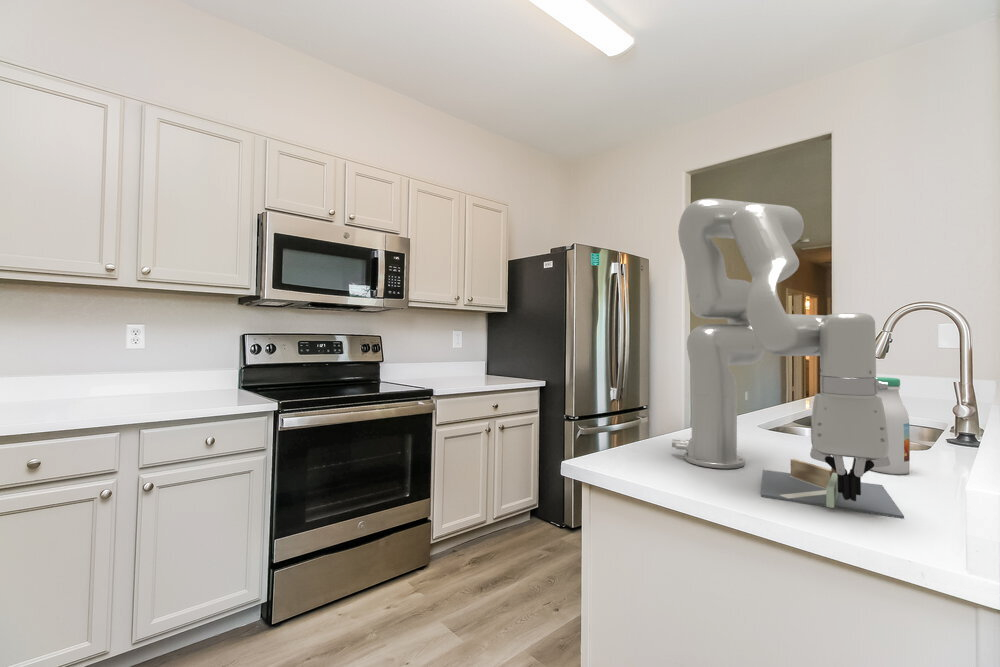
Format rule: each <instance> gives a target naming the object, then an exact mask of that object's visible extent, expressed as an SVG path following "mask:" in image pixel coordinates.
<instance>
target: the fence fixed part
mask: <svg viewBox="0 0 1000 667" xmlns="http://www.w3.org/2000/svg"><path fill="white" fill-rule="evenodd" d="M790 473H791V475H792V476H795V477H798V478H801V479H804V480H807V481H810V482H813V483H816V484H818V485H821V486H824V487H827V485H828V483H829V480H830V478H831V476H832V473H837V472H836V471H835V470H834V469H833V468H832V467H831V469H829V468H826V467H823V466H819V465H816V464H812V463H810V462H809V463H808V462H806V461H803V460H799V459H795V458H791V459H790Z"/></svg>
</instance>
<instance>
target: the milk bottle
mask: <svg viewBox="0 0 1000 667" xmlns="http://www.w3.org/2000/svg"><path fill="white" fill-rule="evenodd" d="M875 378H877V380H879V381H882V382H887V383H888V390H882V391H879V392H877V394H876V396H878V397H881V399H882V402H883V406H884V411H885V416H886V424H887V433H888V445H889V450H888V458H889V461H890V465H889V466H886V467H873V468H872V469H870V470H869V471H874V472H876V473H882V474H889V475H907V474H909V472H910V465H911V464H910V459H911V458H910V451H911V450H910V445H911V444H910V441H911V440H910V439H911V438H910V436H911V435H910V418H909V414H908V413H909V412H908V410H907V408H906V406H905V404H904V402H903V401H902V399H901V396H900V392H899V391H900V389H901V387H900V386H901V380H900V378H897V377H896V378H895V377H886V376H884V377H881V376H876V377H875Z"/></svg>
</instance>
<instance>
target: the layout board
mask: <svg viewBox="0 0 1000 667" xmlns="http://www.w3.org/2000/svg"><path fill="white" fill-rule="evenodd" d="M761 481H762V482H761V492H760V496H761V497H762V498H767V499H774V500H780V501H788V502H794V503H800V504H801V503H802V504H808V505H813V506H819V507H820V506H821V507H826V487H824V486H821V485H818V484H816V483H813V482H810V481H807V480H804V479H801V478H798V477H795V476H792V475H791V472H782V471H776V470H769V469H763V470H762V480H761ZM839 508H840V509H839ZM833 509H839V510H847V511H853V512H858V513H866V514H871V513H873V514H872V515H878V514H880V515H879V516H884V515H888V516H887V517H891V516H894V517H893V518H897V517H899V518H900V519H905V515H904V514H903V512H902V511H901V510H900V508H899V506H898V505H897V504H896V502H895V501H894V500H893V498H892V497H891V496H890V494H889V492H888V491H887V490H886V489H885V487H884V486H883V484H877V483H869V482H862V481H861V495H856V501H852V500H851V499H850V500H849V499H848V500H844V498H843V496H842V493H839V494H838V497H837V500H836V503H835V506H834V508H833Z"/></svg>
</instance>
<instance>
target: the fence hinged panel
mask: <svg viewBox="0 0 1000 667" xmlns="http://www.w3.org/2000/svg"><path fill="white" fill-rule="evenodd" d="M838 494H839V492H838V486H837V473H832V476H831V478H830V480H829V483H828V485H827V487H826V506H825V507H826V508H831V509H835V508H834V506H835V503H836V500H837V497H838Z"/></svg>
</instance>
